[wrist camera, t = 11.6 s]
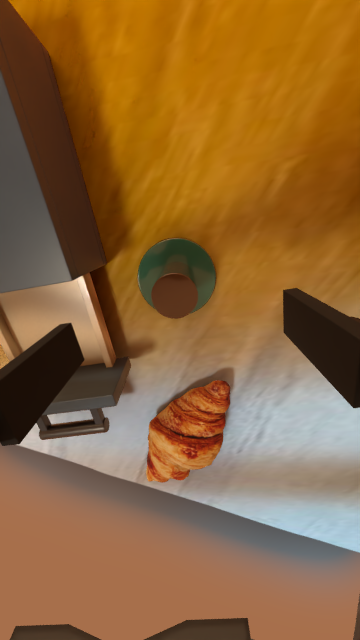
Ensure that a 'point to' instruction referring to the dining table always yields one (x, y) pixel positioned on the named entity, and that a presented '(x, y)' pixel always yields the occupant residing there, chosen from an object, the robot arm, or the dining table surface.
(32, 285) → the cabinet
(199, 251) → the lid
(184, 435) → the croissant
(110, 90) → the dining table surface
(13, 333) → the drawer
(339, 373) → the robot arm
